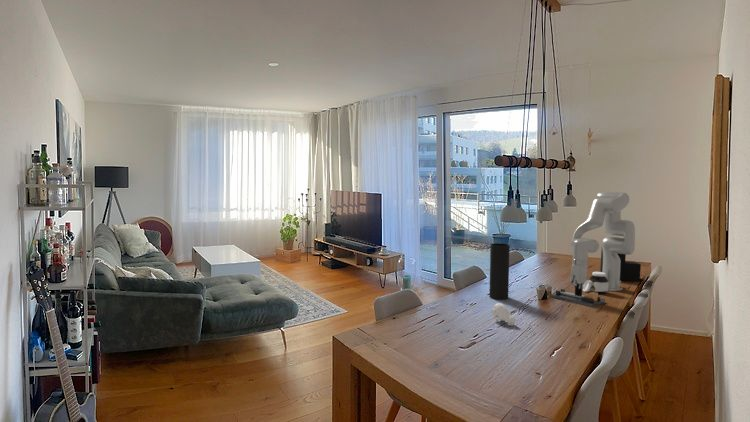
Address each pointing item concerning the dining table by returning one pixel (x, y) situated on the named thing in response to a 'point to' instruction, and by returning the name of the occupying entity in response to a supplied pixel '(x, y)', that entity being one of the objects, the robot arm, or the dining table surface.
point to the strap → (571, 294)
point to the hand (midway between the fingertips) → (578, 295)
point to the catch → (592, 295)
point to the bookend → (626, 269)
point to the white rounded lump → (502, 314)
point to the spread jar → (596, 283)
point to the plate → (577, 299)
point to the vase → (499, 271)
